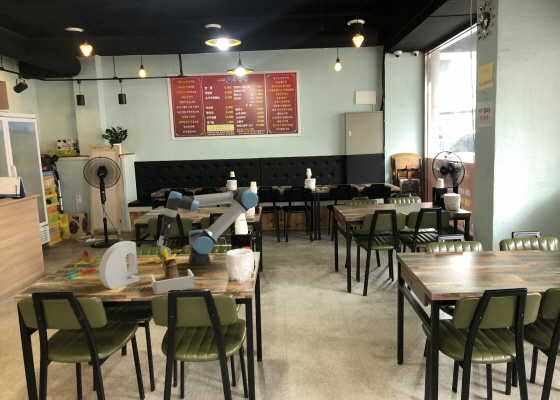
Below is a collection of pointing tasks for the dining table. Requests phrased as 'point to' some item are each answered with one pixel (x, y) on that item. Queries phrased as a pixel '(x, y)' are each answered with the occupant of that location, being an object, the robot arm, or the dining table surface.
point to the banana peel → (164, 255)
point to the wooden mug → (169, 267)
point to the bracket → (119, 265)
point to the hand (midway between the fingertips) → (161, 248)
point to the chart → (85, 270)
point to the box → (173, 284)
